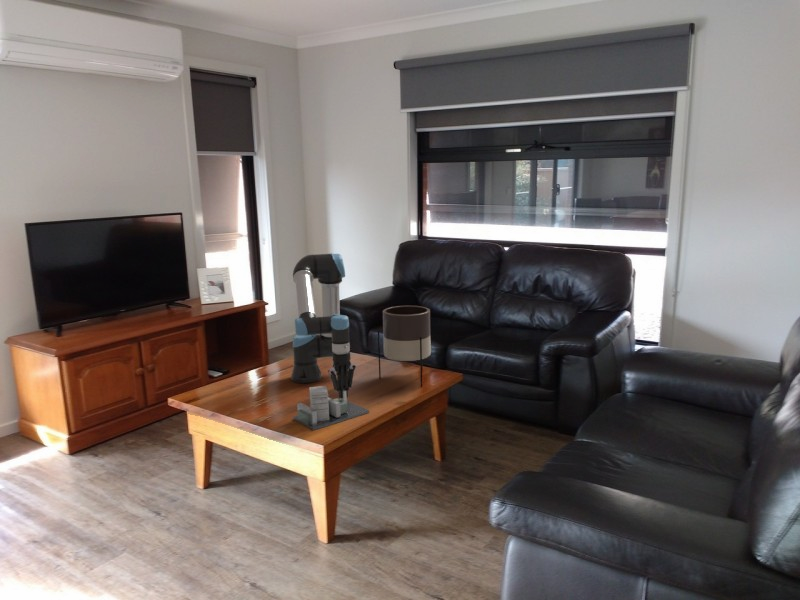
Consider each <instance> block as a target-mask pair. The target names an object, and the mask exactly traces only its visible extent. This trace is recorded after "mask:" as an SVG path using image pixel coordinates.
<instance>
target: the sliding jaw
mask: <svg viewBox="0 0 800 600" xmlns="http://www.w3.org/2000/svg"><path fill="white" fill-rule="evenodd" d="M328 405H329V414H331V415H333V416H335V417H340V416H341V414H343V413H346V412H348V403H346V402H344V401H342V400H340V398H339V397H338V398H337V397H336V398H331V397H329V396H328Z"/></svg>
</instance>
